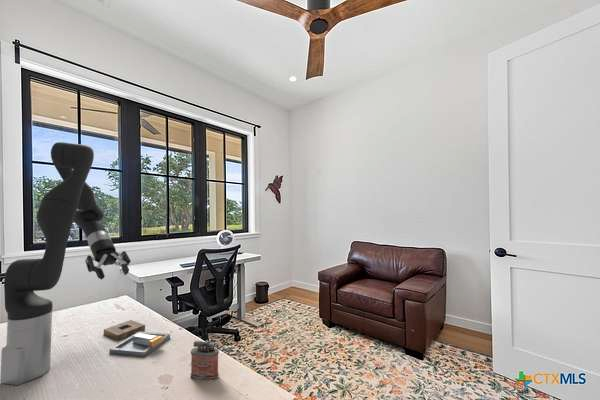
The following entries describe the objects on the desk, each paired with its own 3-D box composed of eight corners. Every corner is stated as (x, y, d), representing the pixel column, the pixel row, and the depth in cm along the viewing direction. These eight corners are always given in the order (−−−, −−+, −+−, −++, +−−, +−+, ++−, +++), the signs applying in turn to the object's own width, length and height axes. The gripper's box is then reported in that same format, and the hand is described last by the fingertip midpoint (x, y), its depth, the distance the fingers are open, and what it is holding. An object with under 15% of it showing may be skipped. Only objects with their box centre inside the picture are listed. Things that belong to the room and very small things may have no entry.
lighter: (220, 374, 77) (220, 339, 78) (215, 381, 74) (216, 344, 74) (194, 372, 78) (194, 337, 79) (188, 379, 75) (188, 343, 75)
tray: (144, 357, 86) (144, 352, 86) (109, 353, 88) (109, 349, 88) (170, 338, 99) (170, 333, 99) (138, 335, 101) (139, 331, 101)
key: (130, 343, 94) (152, 348, 89) (130, 336, 94) (151, 340, 89) (141, 338, 97) (163, 342, 92) (141, 331, 97) (162, 335, 92)
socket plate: (117, 340, 97) (117, 335, 97) (103, 334, 102) (103, 329, 102) (144, 330, 106) (145, 324, 106) (130, 324, 111) (130, 319, 111)
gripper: (83, 239, 102) (97, 273, 96) (123, 236, 115) (138, 266, 108) (76, 252, 104) (90, 286, 98) (116, 248, 117) (130, 277, 111)
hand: (115, 275), depth 103 cm, fingers open, 8 cm apart
